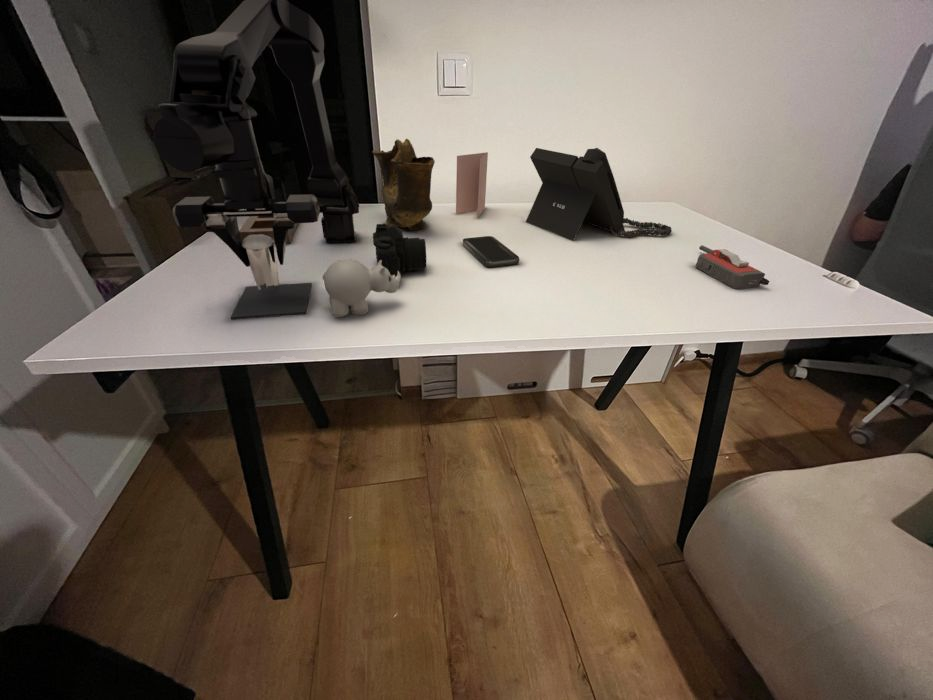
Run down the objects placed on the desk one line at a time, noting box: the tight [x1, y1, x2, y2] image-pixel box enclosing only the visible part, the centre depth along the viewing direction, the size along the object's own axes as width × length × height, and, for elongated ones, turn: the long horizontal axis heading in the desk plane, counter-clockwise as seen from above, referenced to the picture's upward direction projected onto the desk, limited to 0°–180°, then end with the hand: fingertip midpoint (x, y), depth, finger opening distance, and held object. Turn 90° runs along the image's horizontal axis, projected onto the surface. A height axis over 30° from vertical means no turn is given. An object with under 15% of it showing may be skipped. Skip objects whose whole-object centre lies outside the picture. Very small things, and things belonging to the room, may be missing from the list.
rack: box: [239, 208, 299, 245], centre depth 95 cm, size 10×18×3 cm, turn 13°
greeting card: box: [455, 152, 489, 219], centre depth 110 cm, size 11×7×15 cm, turn 133°
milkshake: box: [242, 234, 281, 294], centre depth 64 cm, size 4×5×10 cm
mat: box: [229, 282, 313, 320], centre depth 67 cm, size 11×11×1 cm
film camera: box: [372, 223, 427, 277], centre depth 77 cm, size 15×10×9 cm, turn 9°
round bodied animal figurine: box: [322, 258, 402, 318], centre depth 64 cm, size 7×12×8 cm, turn 109°
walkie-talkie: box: [695, 245, 770, 290], centre depth 84 cm, size 9×4×20 cm
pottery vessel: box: [372, 137, 436, 232], centre depth 97 cm, size 25×11×20 cm, turn 24°
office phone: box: [525, 147, 672, 242], centre depth 102 cm, size 29×28×20 cm
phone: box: [462, 235, 520, 268], centre depth 88 cm, size 8×1×15 cm
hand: (265, 264), depth 64 cm, fingers closed on milkshake, 5 cm apart
